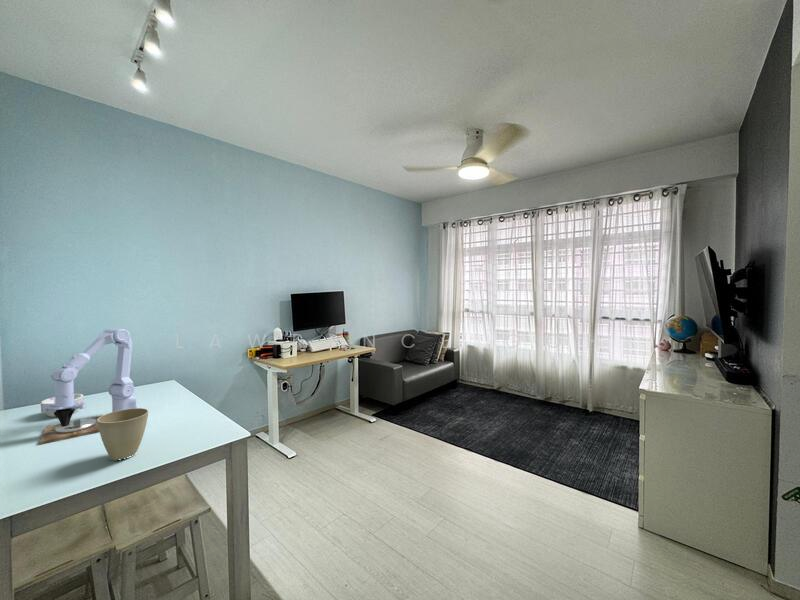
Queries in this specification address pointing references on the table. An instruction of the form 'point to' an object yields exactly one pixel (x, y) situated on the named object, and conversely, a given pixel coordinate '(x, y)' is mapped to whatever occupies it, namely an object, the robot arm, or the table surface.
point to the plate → (52, 436)
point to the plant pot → (122, 431)
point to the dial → (76, 426)
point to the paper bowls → (51, 401)
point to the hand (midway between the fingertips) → (65, 425)
